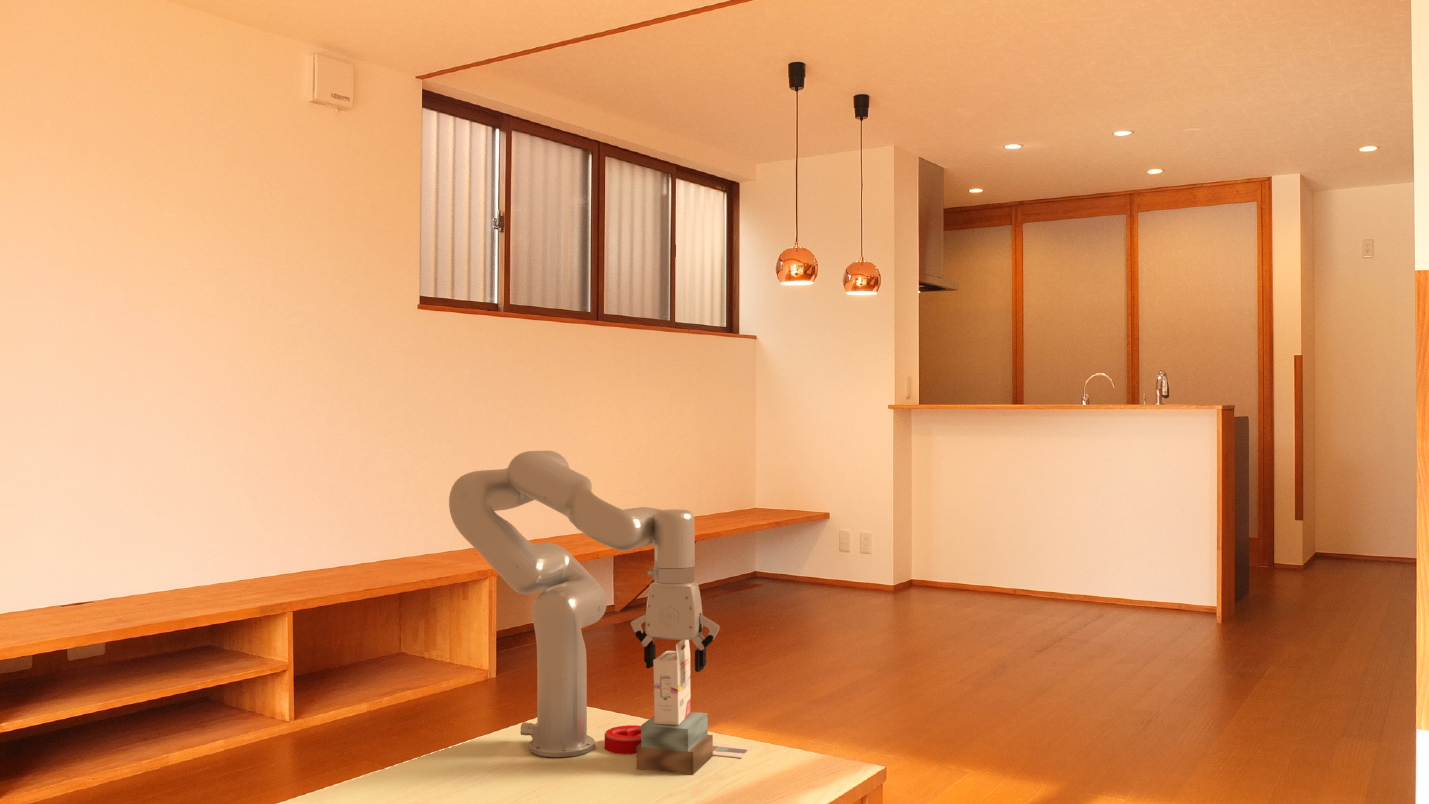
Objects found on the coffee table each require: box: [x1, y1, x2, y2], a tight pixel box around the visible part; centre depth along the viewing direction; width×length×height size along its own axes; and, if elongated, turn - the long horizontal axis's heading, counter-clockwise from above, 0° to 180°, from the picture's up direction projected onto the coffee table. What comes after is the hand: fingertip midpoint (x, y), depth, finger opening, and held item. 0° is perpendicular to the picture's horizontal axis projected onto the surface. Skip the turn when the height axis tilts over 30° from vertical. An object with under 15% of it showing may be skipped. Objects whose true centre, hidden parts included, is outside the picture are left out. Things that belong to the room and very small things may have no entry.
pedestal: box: [635, 711, 714, 776], centre depth 192 cm, size 11×11×8 cm
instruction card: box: [713, 742, 752, 759], centre depth 199 cm, size 10×7×1 cm
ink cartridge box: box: [653, 640, 692, 725], centre depth 193 cm, size 9×5×15 cm, turn 166°
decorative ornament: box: [604, 724, 641, 755], centre depth 202 cm, size 10×10×3 cm
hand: (674, 668), depth 193 cm, fingers open, 9 cm apart
